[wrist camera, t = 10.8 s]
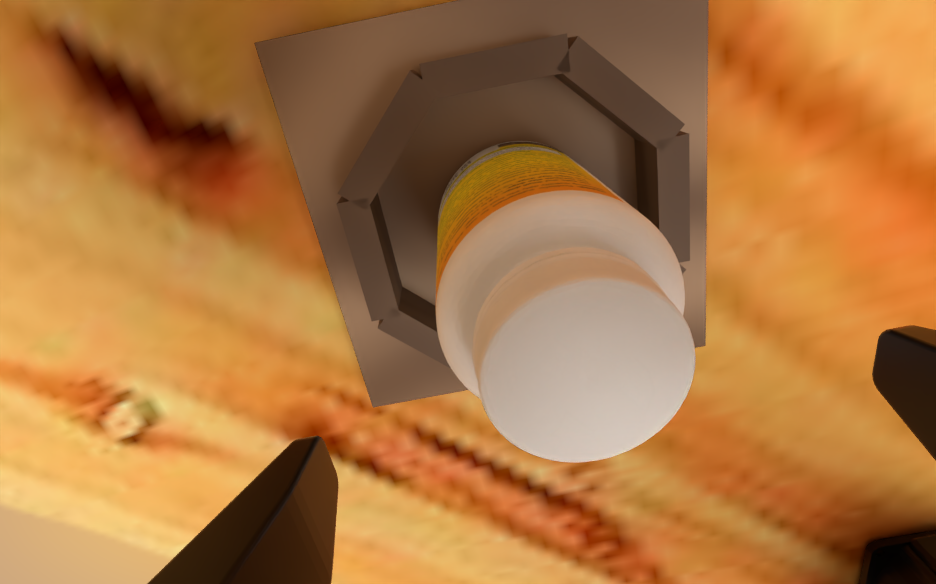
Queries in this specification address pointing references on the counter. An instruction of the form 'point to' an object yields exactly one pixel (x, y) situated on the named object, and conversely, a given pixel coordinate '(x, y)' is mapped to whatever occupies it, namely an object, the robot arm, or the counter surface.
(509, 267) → the supplement bottle
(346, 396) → the counter surface
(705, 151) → the walnut stand
